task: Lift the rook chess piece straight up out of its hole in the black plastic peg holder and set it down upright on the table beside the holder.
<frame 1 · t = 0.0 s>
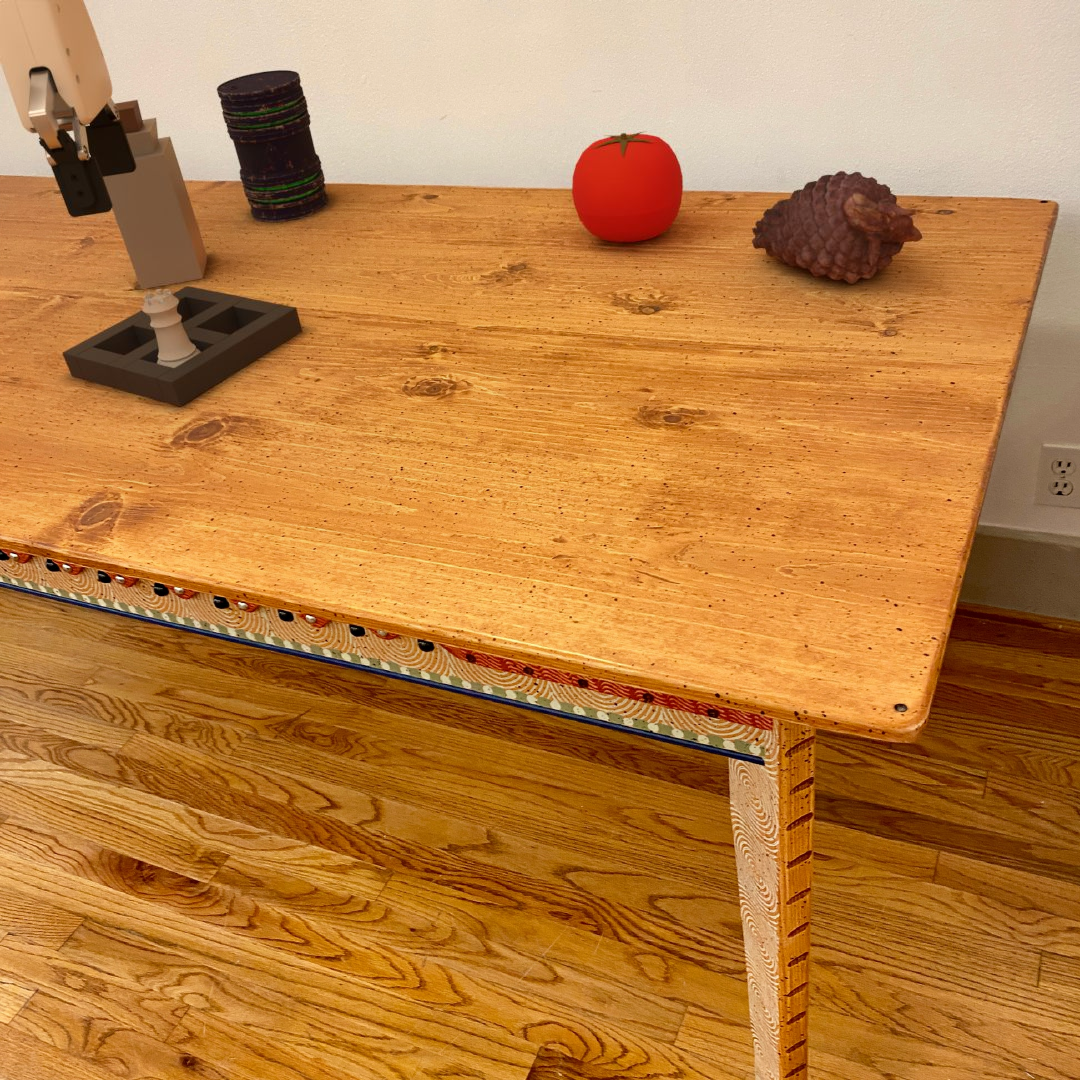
hand: (105, 192, 86), 18 cm above the table, tool pointing down, fingers open, 9 cm apart
dark purple cylinder: (290, 209, 135), on the table
perfume bottle: (175, 274, 122), on the table
tomato: (630, 238, 115), on the table
pine cone: (834, 273, 102), on the table
rook chess piece: (185, 377, 100), resting in holder
holder: (188, 353, 104), on the table
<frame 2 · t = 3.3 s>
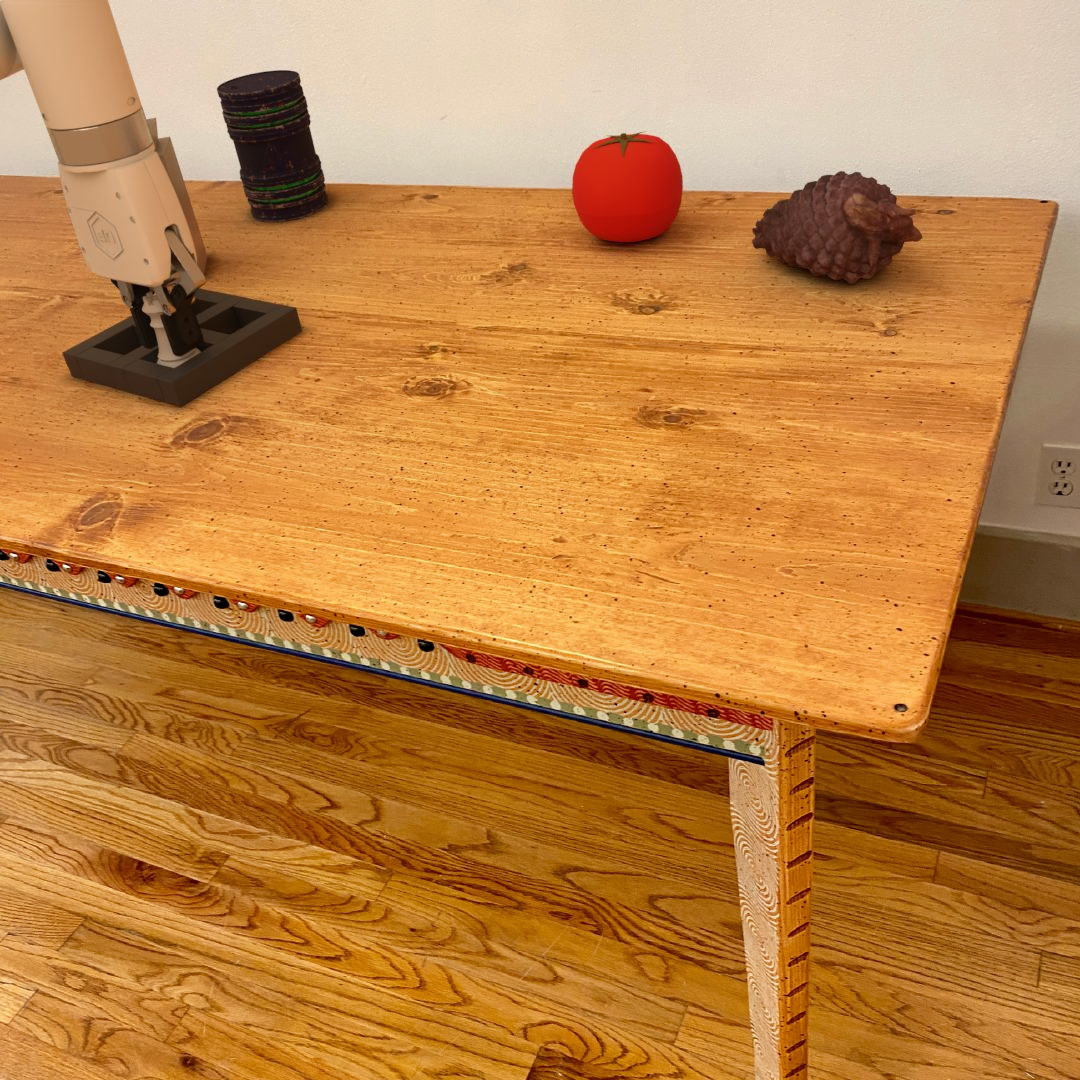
hand: (174, 344, 98), 3 cm above the table, tool pointing down, fingers closed on rook chess piece, 3 cm apart
rook chess piece: (185, 377, 100), resting in holder, touching gripper
everything else where it was.
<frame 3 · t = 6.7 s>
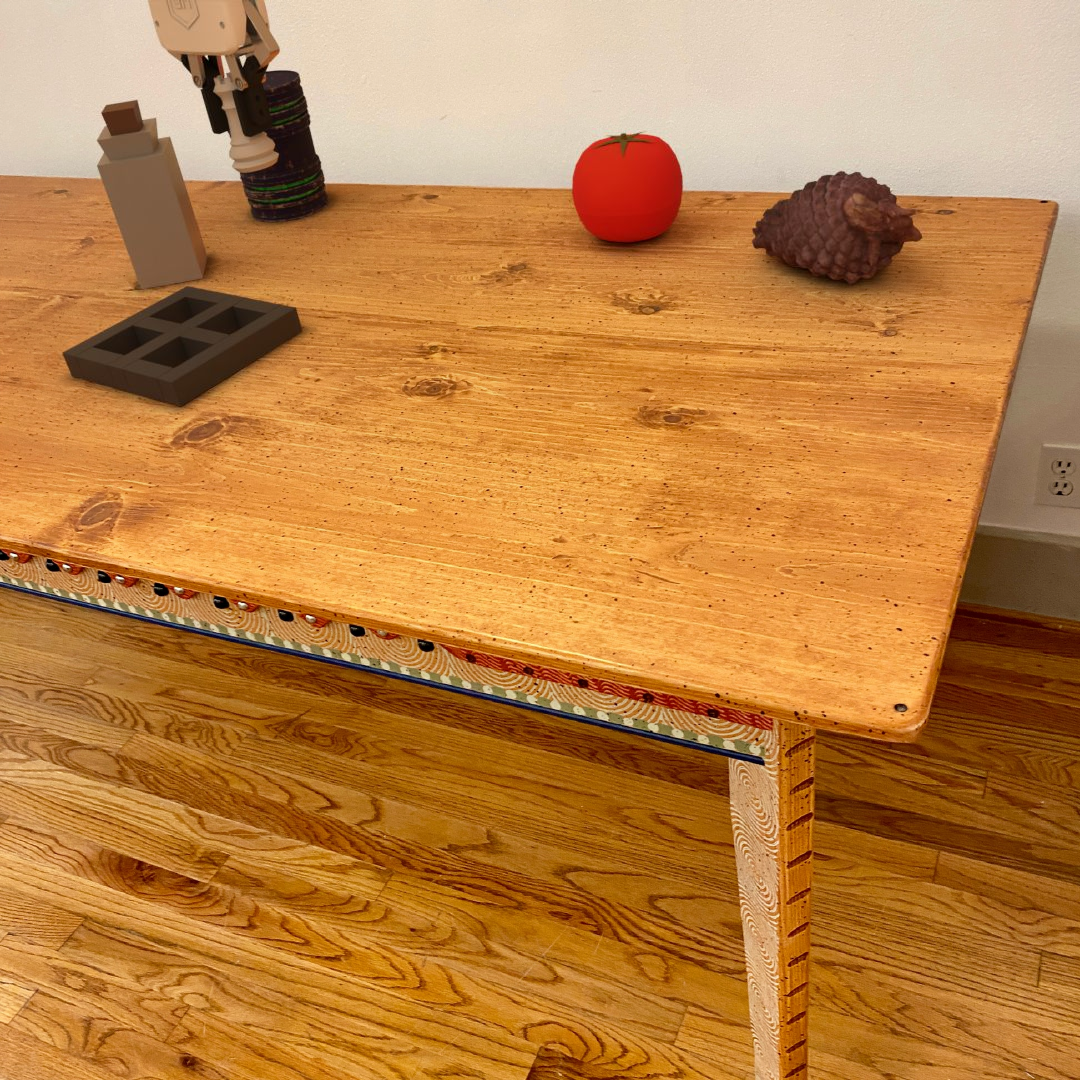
hand: (242, 128, 99), 18 cm above the table, tool pointing down, fingers closed on rook chess piece, 3 cm apart
rook chess piece: (257, 167, 101), point 14 cm above the table, touching gripper
everything else where it was.
when the fingers open (3 cm above the table, at t = 10.1 s): rook chess piece stays where it is, on the table.
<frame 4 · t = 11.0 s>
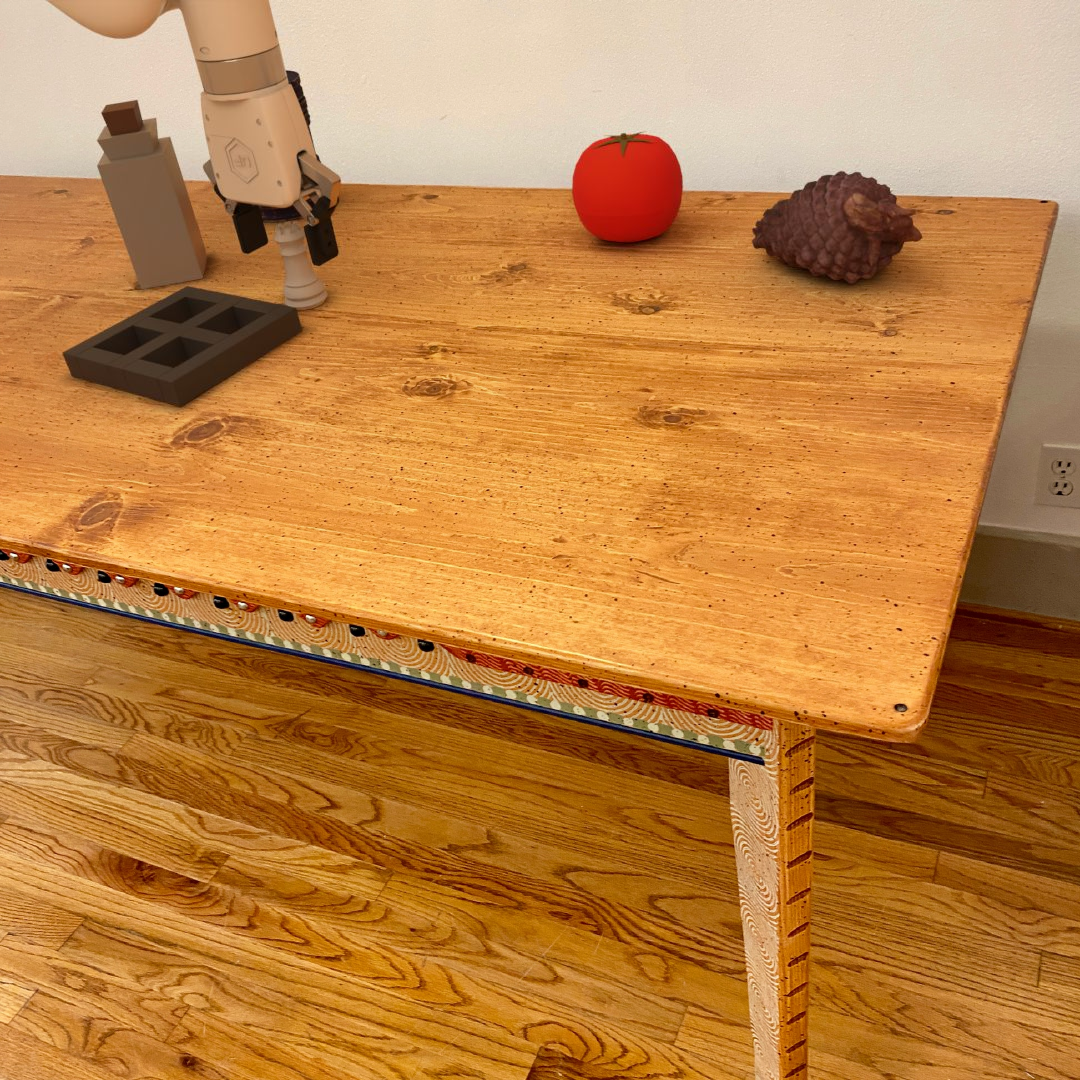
hand: (290, 254, 108), 5 cm above the table, tool pointing down, fingers open, 9 cm apart
rook chess piece: (307, 304, 111), on the table
everything else where it was.
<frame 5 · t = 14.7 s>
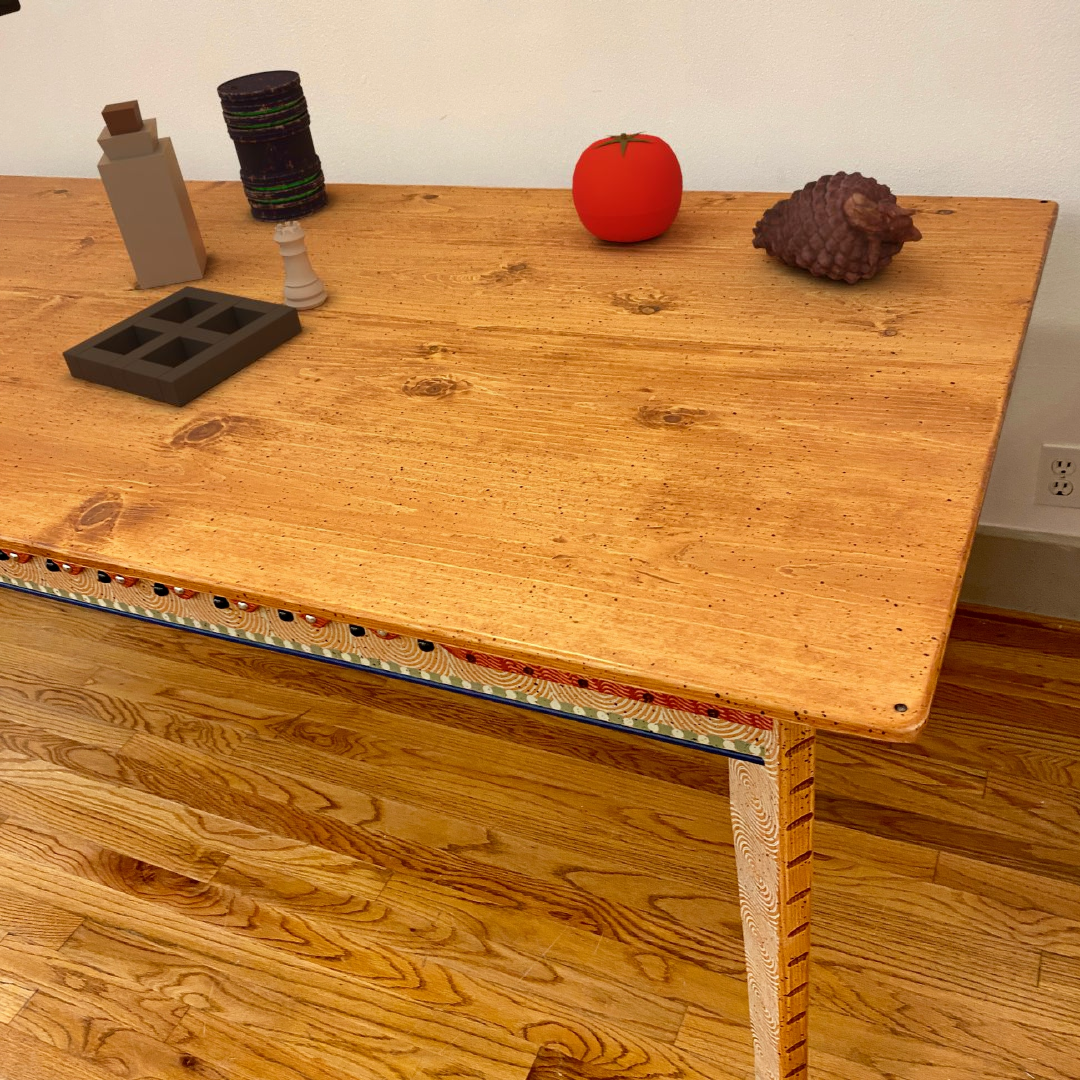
nothing on the table moved.
at the end: rook chess piece inside the target area (0.4 cm from its centre), on the table; rook chess piece tilted 0°; the gripper is holding nothing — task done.
